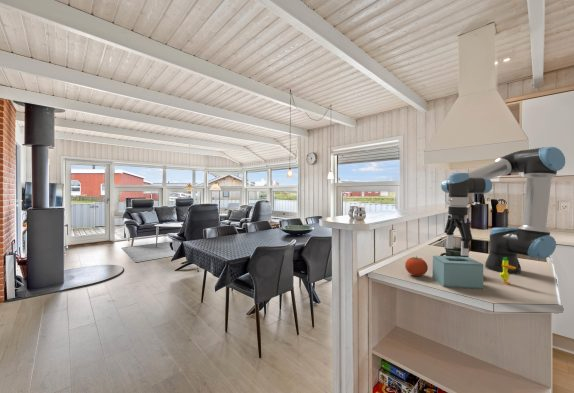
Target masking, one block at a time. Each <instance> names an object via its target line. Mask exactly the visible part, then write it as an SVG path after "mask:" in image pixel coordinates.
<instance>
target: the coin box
mask: <svg viewBox="0 0 574 393" xmlns="http://www.w3.org/2000/svg"><path fill="white" fill-rule="evenodd" d="M431 277H432V279H433V280H435V281H436V282H437V283H438V284H440V286H442V287H443V288H459V289H460V288H462V289H477V290H478V289H479V290H483V289H484V288H483V287H484V264H483V263H482V262H479V261H477V260H475V259H474V258H472V257H470V256H469V257H454V256H446V255H444V256H440V255H433V256H432V276H431Z"/></svg>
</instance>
